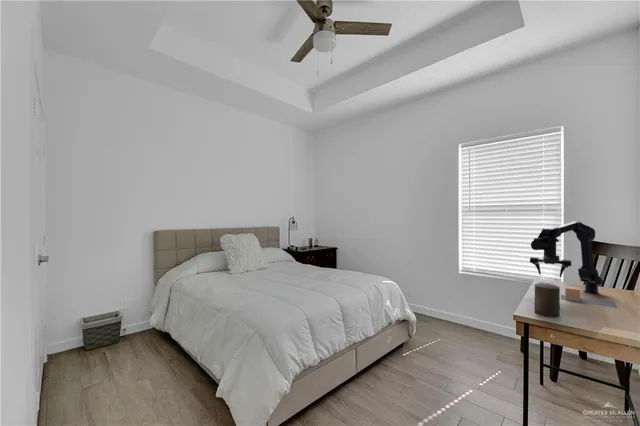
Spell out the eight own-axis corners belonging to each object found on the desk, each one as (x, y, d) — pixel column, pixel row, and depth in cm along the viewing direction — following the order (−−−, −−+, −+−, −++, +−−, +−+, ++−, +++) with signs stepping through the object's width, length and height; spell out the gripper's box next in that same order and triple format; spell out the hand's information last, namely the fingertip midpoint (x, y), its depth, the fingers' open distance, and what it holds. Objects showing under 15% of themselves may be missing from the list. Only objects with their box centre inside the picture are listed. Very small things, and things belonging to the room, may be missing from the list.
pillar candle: (556, 319, 133) (556, 286, 133) (531, 313, 141) (531, 282, 141) (562, 314, 139) (562, 283, 139) (538, 309, 147) (538, 279, 147)
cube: (565, 296, 166) (565, 285, 166) (579, 298, 162) (579, 287, 162) (565, 298, 162) (565, 288, 162) (579, 301, 158) (579, 290, 158)
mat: (561, 295, 170) (560, 294, 170) (614, 302, 156) (614, 301, 156) (560, 300, 161) (560, 299, 161) (617, 308, 147) (617, 307, 147)
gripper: (528, 249, 168) (529, 276, 168) (571, 252, 156) (571, 281, 156) (530, 247, 177) (530, 273, 177) (571, 250, 165) (571, 277, 165)
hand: (550, 276), depth 168 cm, fingers open, 9 cm apart
